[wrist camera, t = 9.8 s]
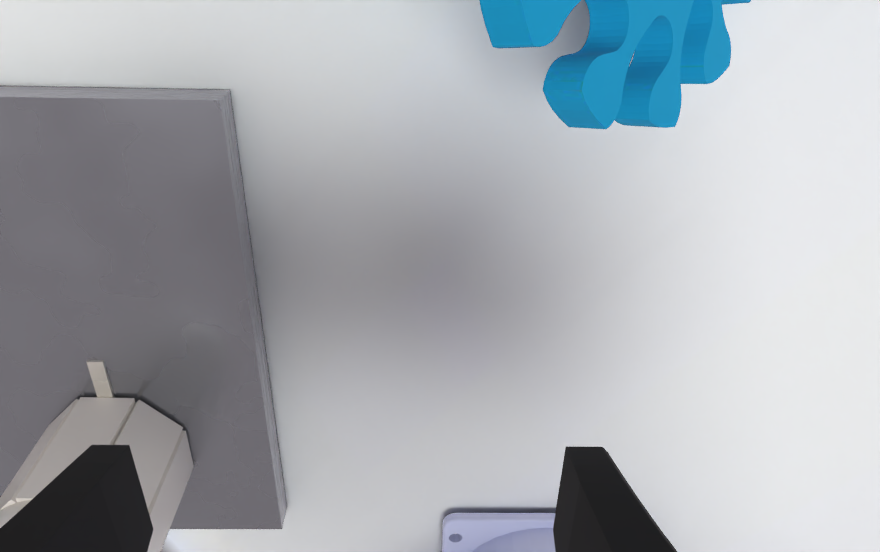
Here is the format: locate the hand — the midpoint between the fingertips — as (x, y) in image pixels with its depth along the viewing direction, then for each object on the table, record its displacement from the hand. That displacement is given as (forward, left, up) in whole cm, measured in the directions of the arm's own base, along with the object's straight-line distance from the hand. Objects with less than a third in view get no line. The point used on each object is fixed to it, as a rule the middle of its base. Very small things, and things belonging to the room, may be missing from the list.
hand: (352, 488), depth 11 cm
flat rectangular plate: (-4, +9, -10) cm, 14 cm away
